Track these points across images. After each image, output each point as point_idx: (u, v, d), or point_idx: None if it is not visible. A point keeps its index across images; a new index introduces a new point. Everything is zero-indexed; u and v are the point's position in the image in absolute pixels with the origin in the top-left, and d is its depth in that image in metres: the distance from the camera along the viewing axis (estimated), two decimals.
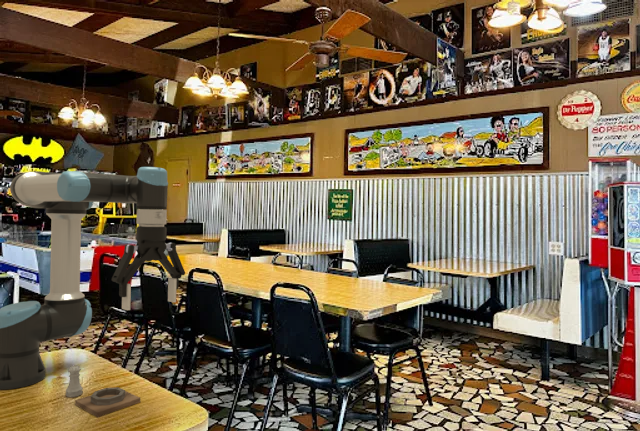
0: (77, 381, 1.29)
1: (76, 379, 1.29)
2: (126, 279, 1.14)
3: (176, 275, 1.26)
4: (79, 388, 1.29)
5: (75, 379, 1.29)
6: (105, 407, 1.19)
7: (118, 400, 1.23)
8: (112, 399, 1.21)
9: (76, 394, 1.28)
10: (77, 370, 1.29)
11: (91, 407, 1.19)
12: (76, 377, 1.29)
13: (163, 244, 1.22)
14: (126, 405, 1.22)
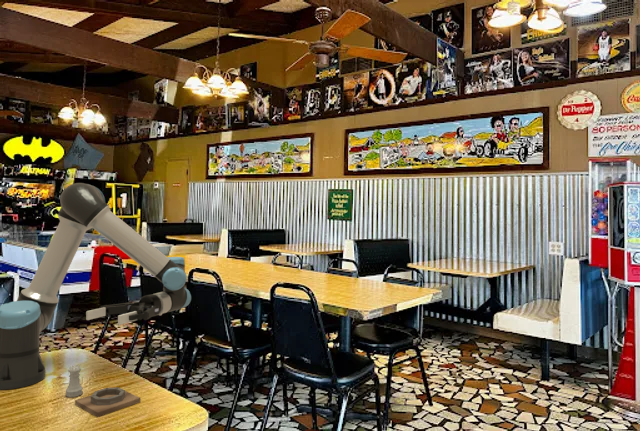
0: (77, 381, 1.29)
1: (76, 379, 1.29)
2: None
3: (106, 314, 1.48)
4: (79, 388, 1.29)
5: (75, 379, 1.29)
6: (105, 407, 1.19)
7: (118, 400, 1.23)
8: (112, 399, 1.21)
9: (76, 394, 1.28)
10: (77, 370, 1.29)
11: (91, 407, 1.19)
12: (76, 377, 1.29)
13: None
14: (126, 405, 1.22)
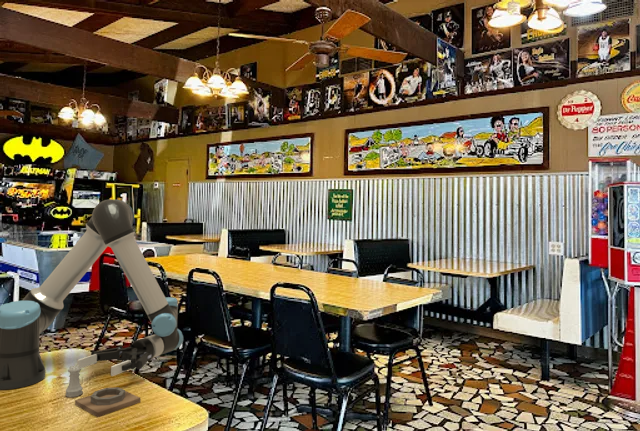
0: (77, 381, 1.29)
1: (76, 379, 1.29)
2: None
3: None
4: (79, 388, 1.29)
5: (75, 379, 1.29)
6: (105, 407, 1.19)
7: (118, 400, 1.23)
8: (112, 399, 1.21)
9: (76, 394, 1.28)
10: (77, 370, 1.29)
11: (91, 407, 1.19)
12: (76, 377, 1.29)
13: None
14: (126, 405, 1.22)
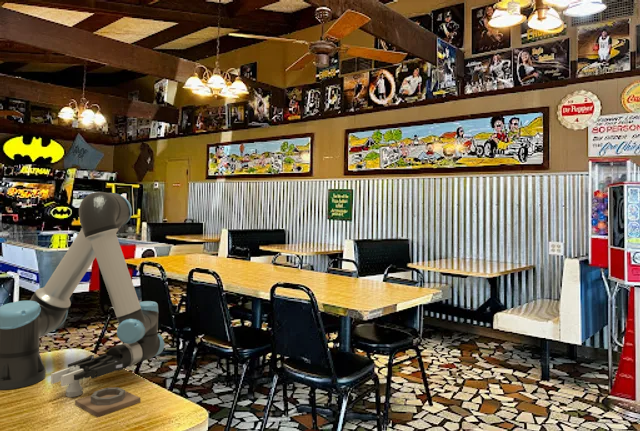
0: (77, 381, 1.29)
1: None
2: None
3: None
4: (79, 388, 1.29)
5: None
6: (105, 407, 1.19)
7: (118, 400, 1.23)
8: (112, 399, 1.21)
9: (76, 394, 1.28)
10: None
11: (91, 407, 1.19)
12: None
13: None
14: (126, 405, 1.22)
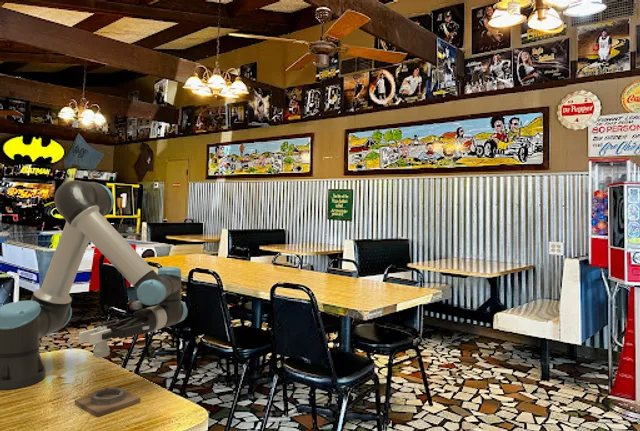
0: (105, 341, 1.26)
1: None
2: None
3: None
4: (107, 348, 1.26)
5: None
6: (105, 407, 1.19)
7: (118, 400, 1.23)
8: (112, 399, 1.21)
9: (104, 354, 1.25)
10: None
11: (91, 407, 1.19)
12: None
13: None
14: (126, 405, 1.22)
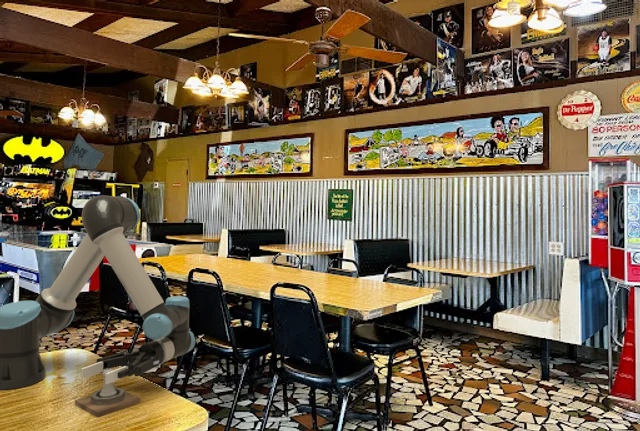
0: (111, 385, 1.24)
1: None
2: None
3: None
4: (113, 392, 1.24)
5: None
6: (105, 407, 1.19)
7: (118, 400, 1.23)
8: (112, 399, 1.21)
9: None
10: None
11: (91, 407, 1.19)
12: None
13: None
14: (126, 405, 1.22)
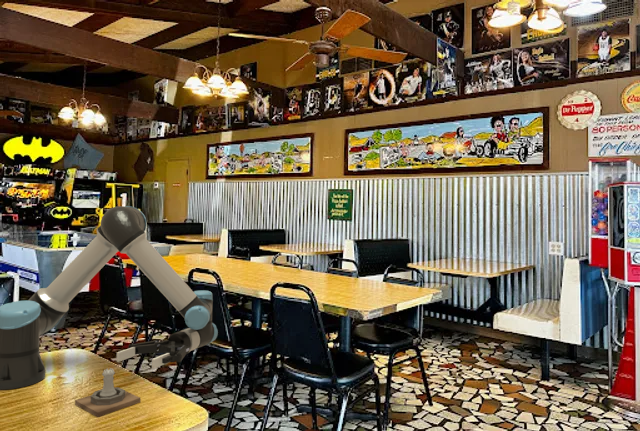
0: (111, 385, 1.24)
1: (110, 383, 1.24)
2: None
3: None
4: (113, 392, 1.24)
5: (109, 383, 1.24)
6: (105, 407, 1.19)
7: (118, 400, 1.23)
8: (112, 399, 1.21)
9: None
10: (111, 373, 1.24)
11: (91, 407, 1.19)
12: (110, 380, 1.24)
13: None
14: (126, 405, 1.22)
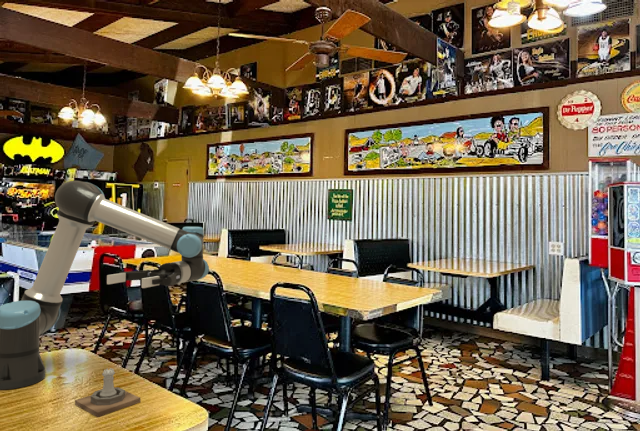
0: (111, 385, 1.24)
1: (110, 383, 1.24)
2: None
3: (125, 280, 1.44)
4: (113, 392, 1.24)
5: (109, 383, 1.24)
6: (105, 407, 1.19)
7: (118, 400, 1.23)
8: (112, 399, 1.21)
9: None
10: (111, 373, 1.24)
11: (91, 407, 1.19)
12: (110, 380, 1.24)
13: None
14: (126, 405, 1.22)
